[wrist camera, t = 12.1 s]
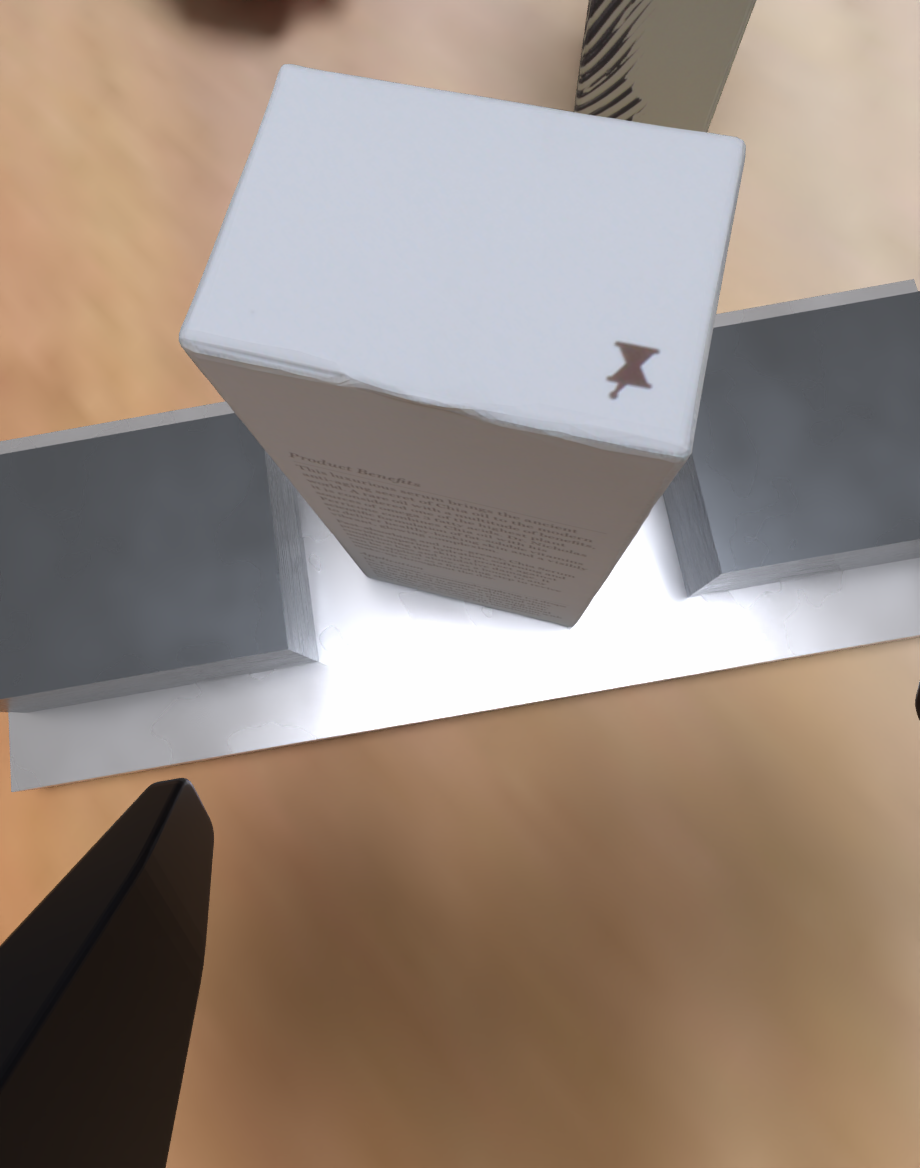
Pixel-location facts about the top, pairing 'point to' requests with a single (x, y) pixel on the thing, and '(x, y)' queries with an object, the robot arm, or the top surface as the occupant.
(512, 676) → the rail plate
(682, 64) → the box
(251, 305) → the skincare box
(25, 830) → the top surface
